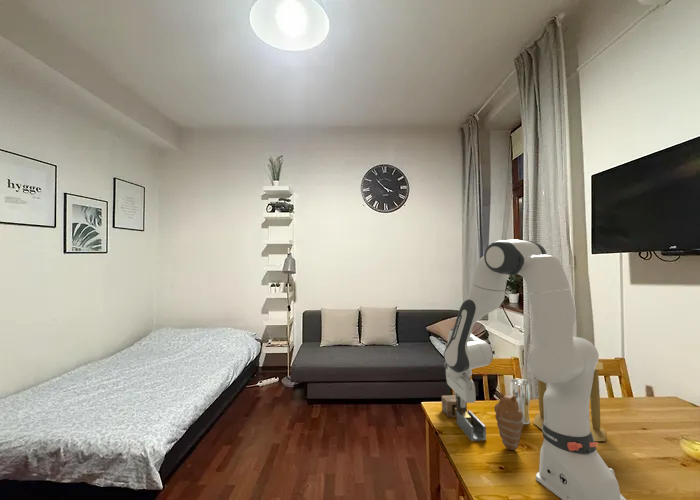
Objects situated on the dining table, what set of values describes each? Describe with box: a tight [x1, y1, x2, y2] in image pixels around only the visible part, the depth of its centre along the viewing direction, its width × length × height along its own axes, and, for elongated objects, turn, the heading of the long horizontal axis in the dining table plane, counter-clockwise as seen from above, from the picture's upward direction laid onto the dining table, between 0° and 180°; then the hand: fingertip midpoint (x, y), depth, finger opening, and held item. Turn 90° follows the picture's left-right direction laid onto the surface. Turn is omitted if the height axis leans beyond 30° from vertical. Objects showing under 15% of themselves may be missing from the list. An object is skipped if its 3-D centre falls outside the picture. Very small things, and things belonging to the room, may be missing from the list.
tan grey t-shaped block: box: [452, 397, 472, 425], centre depth 134 cm, size 14×3×8 cm, turn 4°
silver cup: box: [509, 378, 531, 425], centre depth 133 cm, size 7×7×15 cm
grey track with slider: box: [456, 409, 487, 442], centre depth 124 cm, size 13×5×5 cm, turn 4°
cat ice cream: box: [493, 391, 524, 451], centre depth 113 cm, size 9×8×18 cm
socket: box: [441, 394, 468, 418], centre depth 140 cm, size 6×8×6 cm
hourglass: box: [532, 360, 607, 442], centre depth 127 cm, size 24×22×25 cm
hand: (460, 405), depth 133 cm, fingers closed on tan grey t-shaped block, 2 cm apart
